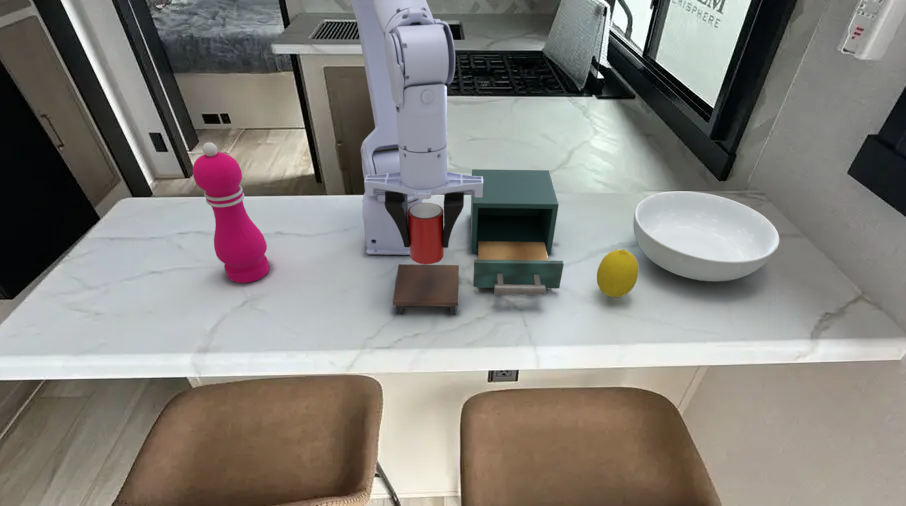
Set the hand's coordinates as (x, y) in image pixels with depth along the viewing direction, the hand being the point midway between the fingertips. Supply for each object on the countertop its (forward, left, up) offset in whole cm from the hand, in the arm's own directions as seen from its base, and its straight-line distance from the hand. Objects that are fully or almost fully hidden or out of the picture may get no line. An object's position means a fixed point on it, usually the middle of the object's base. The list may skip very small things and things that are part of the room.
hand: (426, 243), depth 69 cm
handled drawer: (+13, +5, -8) cm, 16 cm away
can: (0, 0, -2) cm, 2 cm away
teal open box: (+13, +18, -9) cm, 23 cm away
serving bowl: (+42, +11, -9) cm, 44 cm away
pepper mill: (-28, +6, -9) cm, 30 cm away
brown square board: (0, 0, -9) cm, 9 cm away
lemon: (+27, +1, -9) cm, 28 cm away
